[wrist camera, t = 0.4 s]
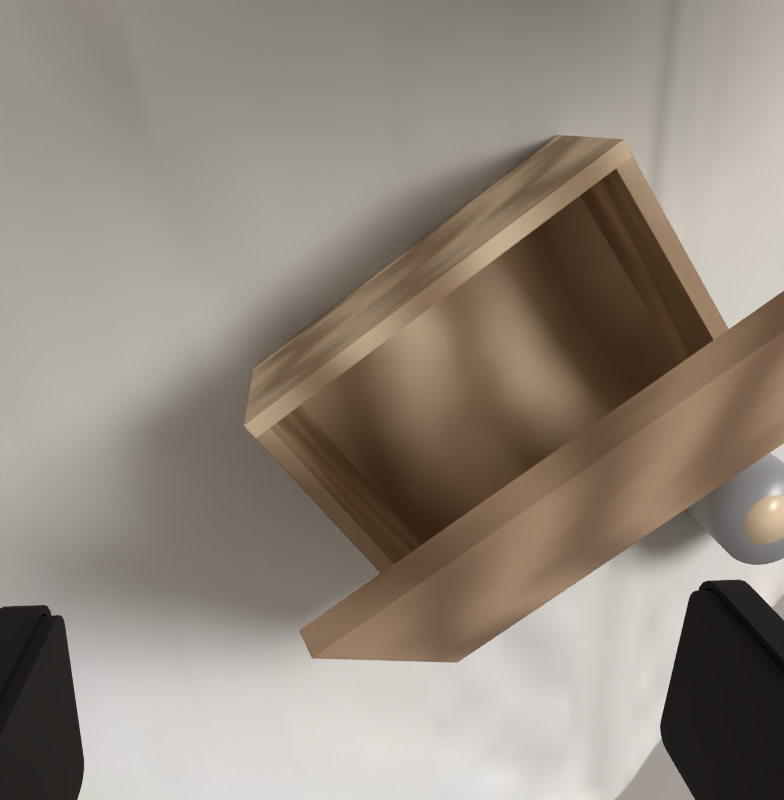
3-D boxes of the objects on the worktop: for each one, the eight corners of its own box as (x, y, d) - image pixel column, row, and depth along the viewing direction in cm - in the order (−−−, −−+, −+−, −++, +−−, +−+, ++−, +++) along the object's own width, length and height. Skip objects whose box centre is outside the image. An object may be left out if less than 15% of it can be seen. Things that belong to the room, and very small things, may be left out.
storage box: (557, 135, 37) (623, 139, 30) (694, 367, 43) (778, 419, 35) (253, 367, 39) (243, 425, 32) (422, 557, 45) (446, 644, 38)
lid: (830, 258, 21) (856, 280, 21) (779, 420, 35) (794, 435, 35) (299, 630, 24) (312, 658, 23) (447, 644, 38) (457, 662, 37)
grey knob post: (743, 417, 44) (796, 452, 40) (782, 484, 47) (836, 524, 42) (661, 474, 45) (703, 514, 41) (702, 537, 47) (747, 582, 43)
